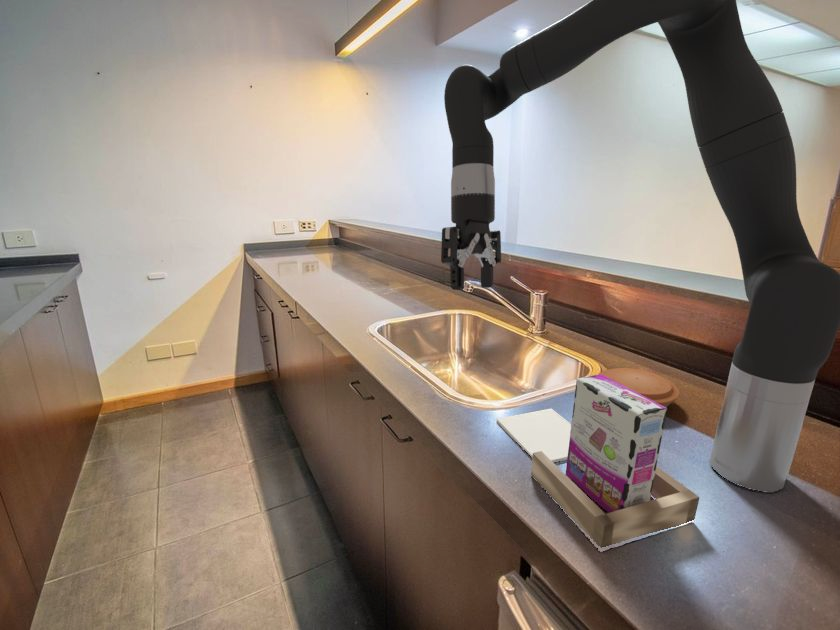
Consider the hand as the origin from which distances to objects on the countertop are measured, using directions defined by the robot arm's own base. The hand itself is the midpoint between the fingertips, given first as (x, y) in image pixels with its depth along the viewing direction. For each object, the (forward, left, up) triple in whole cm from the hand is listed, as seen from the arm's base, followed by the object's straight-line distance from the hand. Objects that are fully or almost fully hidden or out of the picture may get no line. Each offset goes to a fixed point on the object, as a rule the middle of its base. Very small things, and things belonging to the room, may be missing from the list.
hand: (472, 288), depth 75 cm
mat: (-10, +11, -25) cm, 29 cm away
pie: (-35, +6, -25) cm, 43 cm away
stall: (-9, +27, -25) cm, 38 cm away
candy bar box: (-9, +27, -25) cm, 38 cm away
